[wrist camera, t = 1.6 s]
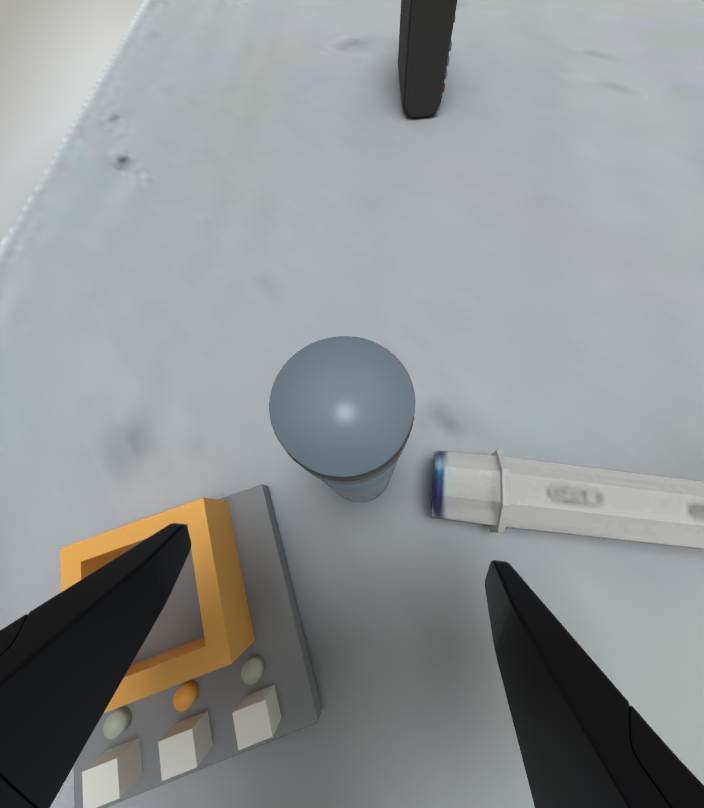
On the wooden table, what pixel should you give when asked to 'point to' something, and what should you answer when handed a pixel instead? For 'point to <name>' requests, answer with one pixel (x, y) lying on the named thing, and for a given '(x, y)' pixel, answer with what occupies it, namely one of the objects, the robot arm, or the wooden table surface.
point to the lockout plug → (344, 413)
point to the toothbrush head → (567, 499)
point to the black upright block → (424, 53)
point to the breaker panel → (200, 652)
